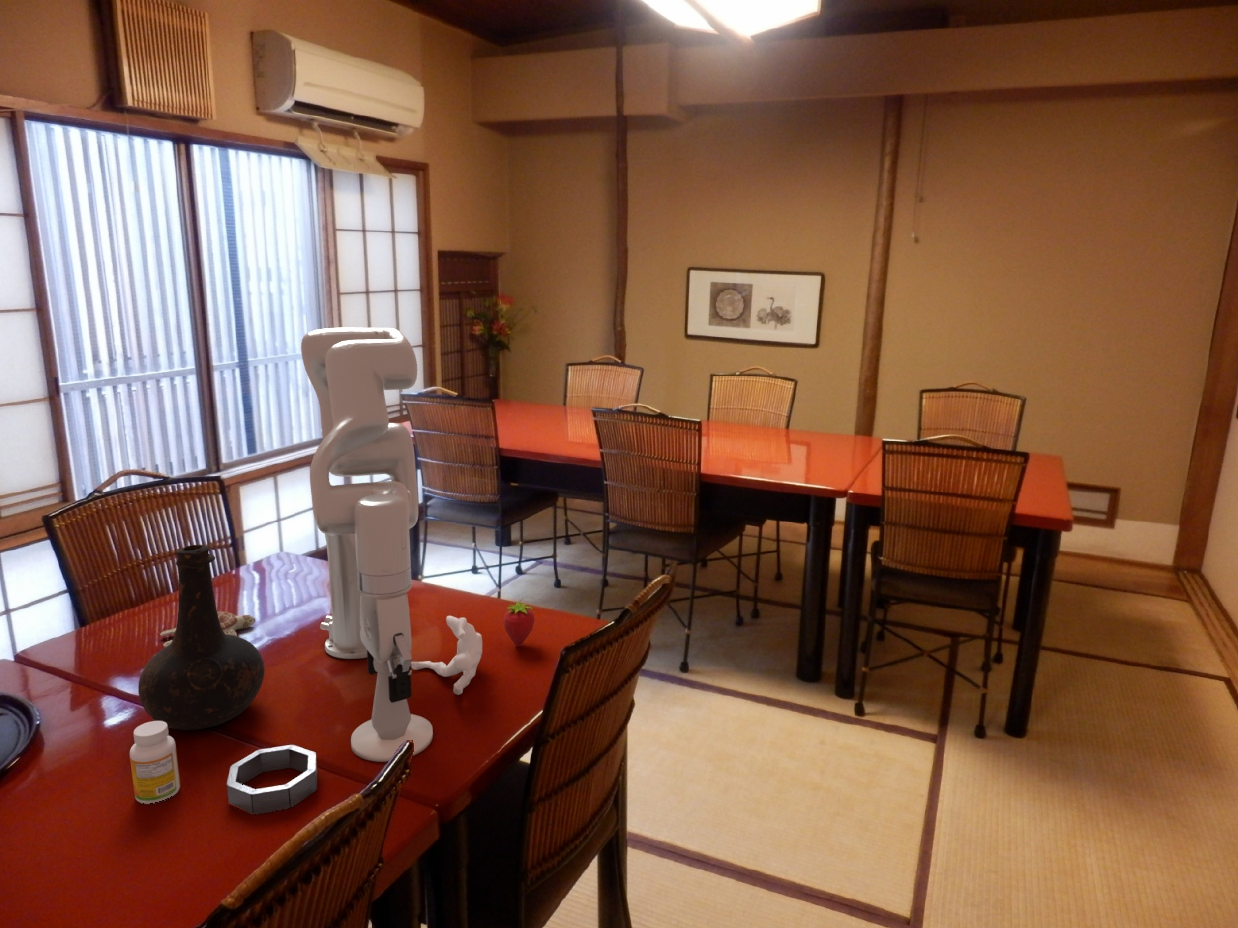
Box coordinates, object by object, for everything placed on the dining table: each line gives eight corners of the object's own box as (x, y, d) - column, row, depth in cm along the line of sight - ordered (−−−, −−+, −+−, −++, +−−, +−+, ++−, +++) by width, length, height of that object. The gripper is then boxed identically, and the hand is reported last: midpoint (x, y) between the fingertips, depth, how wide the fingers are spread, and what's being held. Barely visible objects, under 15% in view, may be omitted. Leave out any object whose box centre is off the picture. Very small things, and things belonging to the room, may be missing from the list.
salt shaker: (419, 732, 126) (416, 653, 124) (386, 747, 122) (382, 666, 119) (397, 719, 130) (393, 642, 127) (364, 733, 126) (360, 654, 123)
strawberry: (535, 637, 163) (534, 589, 161) (534, 654, 156) (533, 604, 154) (505, 638, 163) (504, 590, 160) (502, 655, 155) (501, 604, 153)
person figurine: (410, 607, 149) (461, 621, 136) (471, 606, 158) (525, 618, 144) (404, 680, 149) (455, 701, 135) (466, 675, 157) (520, 694, 143)
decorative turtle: (265, 644, 159) (263, 620, 158) (167, 665, 150) (165, 639, 149) (247, 613, 174) (245, 590, 173) (157, 630, 165) (154, 606, 164)
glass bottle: (141, 757, 121) (119, 575, 115) (145, 702, 136) (126, 539, 130) (272, 728, 129) (258, 557, 123) (262, 680, 144) (249, 526, 138)
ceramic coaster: (333, 748, 123) (333, 742, 123) (388, 712, 134) (388, 706, 134) (396, 769, 118) (396, 763, 118) (448, 730, 129) (448, 724, 129)
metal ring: (212, 798, 111) (210, 778, 111) (277, 757, 121) (276, 738, 120) (270, 821, 107) (269, 801, 106) (334, 777, 116) (332, 758, 116)
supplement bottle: (146, 781, 115) (139, 718, 113) (187, 780, 115) (180, 716, 113) (127, 805, 109) (119, 739, 107) (169, 804, 110) (162, 738, 108)
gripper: (341, 565, 126) (347, 668, 130) (378, 604, 112) (383, 718, 116) (390, 556, 130) (394, 656, 134) (431, 593, 116) (434, 703, 120)
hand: (389, 685), depth 125 cm, fingers open, 9 cm apart
